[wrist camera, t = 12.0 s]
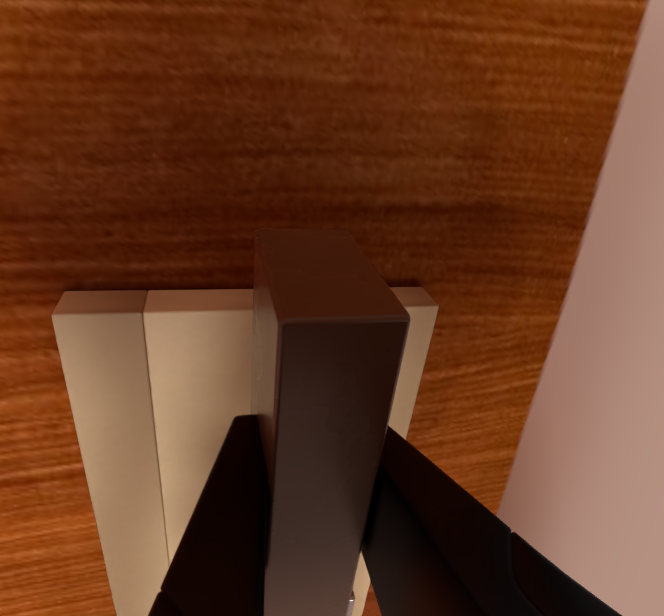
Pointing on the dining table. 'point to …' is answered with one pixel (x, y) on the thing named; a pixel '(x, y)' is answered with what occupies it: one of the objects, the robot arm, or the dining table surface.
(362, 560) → the board
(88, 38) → the dining table surface
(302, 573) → the fork
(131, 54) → the dining table surface
